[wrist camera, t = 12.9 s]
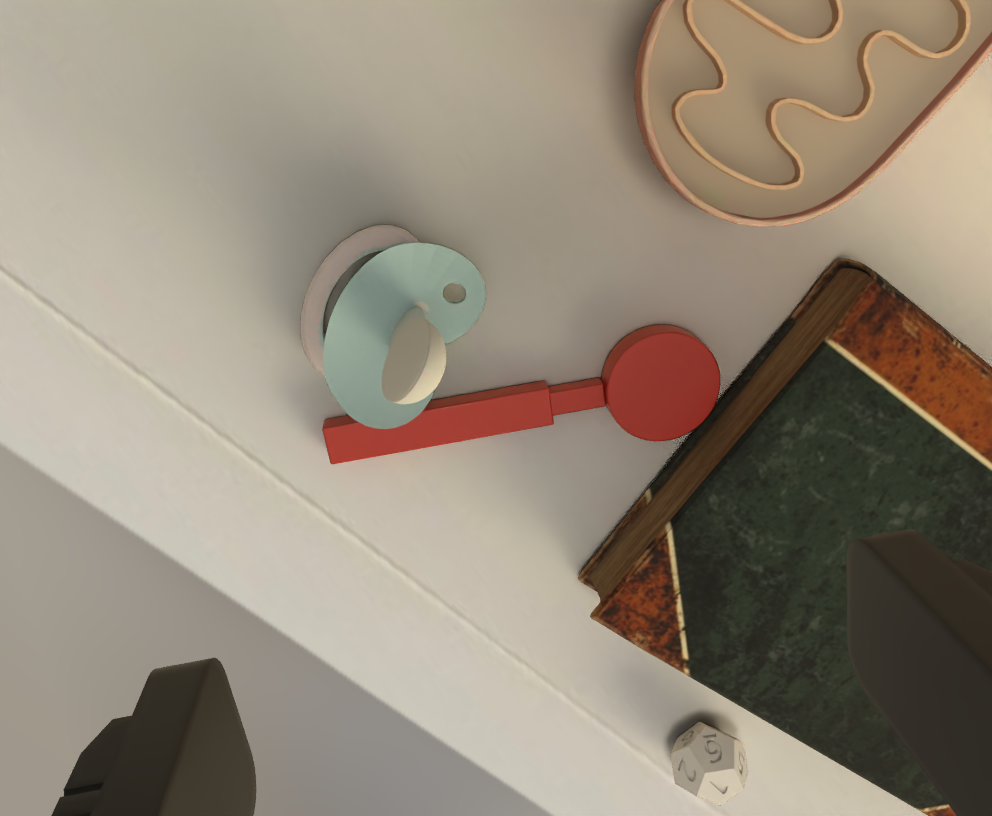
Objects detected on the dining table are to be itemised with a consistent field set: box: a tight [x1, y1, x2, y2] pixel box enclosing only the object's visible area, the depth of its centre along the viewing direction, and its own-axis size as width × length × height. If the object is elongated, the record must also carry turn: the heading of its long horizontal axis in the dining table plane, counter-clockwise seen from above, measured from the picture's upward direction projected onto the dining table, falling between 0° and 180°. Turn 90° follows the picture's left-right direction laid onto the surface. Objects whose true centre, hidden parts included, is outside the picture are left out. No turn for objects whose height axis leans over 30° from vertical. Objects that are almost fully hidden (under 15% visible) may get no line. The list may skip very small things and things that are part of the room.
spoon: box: [322, 325, 720, 464], centre depth 35 cm, size 16×5×1 cm, turn 99°
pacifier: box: [300, 225, 486, 429], centre depth 31 cm, size 7×6×6 cm
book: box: [578, 259, 992, 816], centre depth 39 cm, size 17×4×25 cm
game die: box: [670, 722, 749, 806], centre depth 42 cm, size 4×4×3 cm
